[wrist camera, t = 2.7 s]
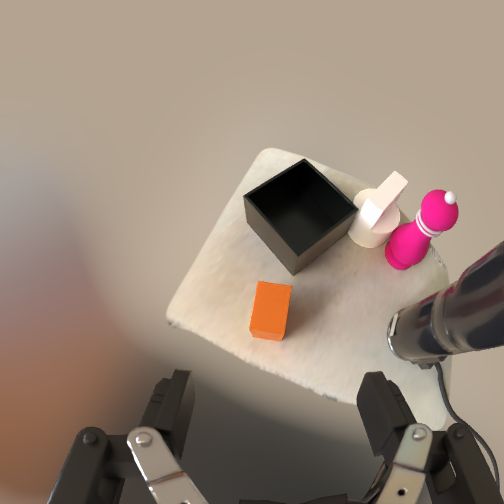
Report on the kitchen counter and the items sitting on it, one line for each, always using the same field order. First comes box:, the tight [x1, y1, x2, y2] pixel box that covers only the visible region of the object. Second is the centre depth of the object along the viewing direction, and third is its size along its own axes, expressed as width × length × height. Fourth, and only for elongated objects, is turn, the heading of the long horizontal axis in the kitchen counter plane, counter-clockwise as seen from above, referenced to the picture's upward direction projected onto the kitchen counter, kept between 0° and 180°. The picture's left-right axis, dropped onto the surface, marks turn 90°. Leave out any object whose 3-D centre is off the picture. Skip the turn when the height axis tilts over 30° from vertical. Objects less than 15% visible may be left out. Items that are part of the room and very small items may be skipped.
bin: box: [243, 158, 359, 276], centre depth 46 cm, size 13×13×9 cm
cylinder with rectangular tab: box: [347, 171, 408, 248], centre depth 44 cm, size 9×9×12 cm
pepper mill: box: [385, 190, 458, 270], centre depth 37 cm, size 7×7×20 cm
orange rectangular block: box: [249, 281, 292, 341], centre depth 39 cm, size 4×6×10 cm
